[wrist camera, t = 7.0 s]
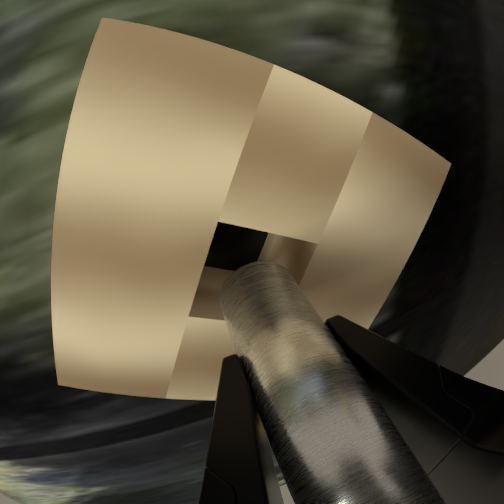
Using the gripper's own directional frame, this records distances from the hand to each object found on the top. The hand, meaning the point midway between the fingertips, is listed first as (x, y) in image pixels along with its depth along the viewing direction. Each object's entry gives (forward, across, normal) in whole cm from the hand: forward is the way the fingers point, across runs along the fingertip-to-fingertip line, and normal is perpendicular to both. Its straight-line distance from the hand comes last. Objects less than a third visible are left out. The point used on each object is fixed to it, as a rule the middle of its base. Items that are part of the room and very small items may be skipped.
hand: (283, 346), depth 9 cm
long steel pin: (+2, 0, 0) cm, 2 cm away
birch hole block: (+7, 0, 0) cm, 7 cm away
